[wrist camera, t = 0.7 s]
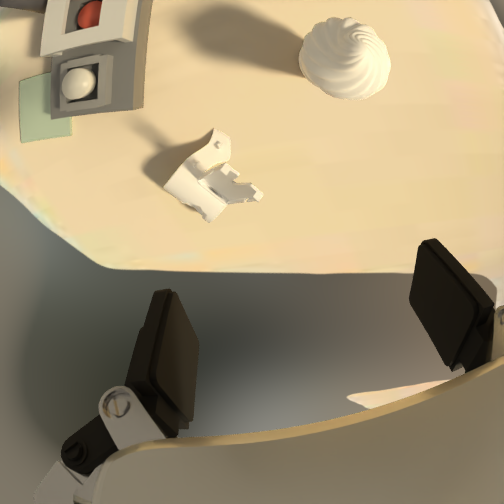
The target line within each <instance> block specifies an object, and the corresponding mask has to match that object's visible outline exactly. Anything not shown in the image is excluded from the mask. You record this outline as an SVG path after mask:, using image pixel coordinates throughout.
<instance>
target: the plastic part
mask: <svg viewBox="0 0 504 504" xmlns="http://www.w3.org/2000/svg"><path fill="white" fill-rule="evenodd" d="M230 156H231V148H230V137H229V136H227V135H226V134H225V133H223V132H221V131H219V130H217V129H215V128H214V130H213V134H212V137H211V139H210V141H209V143H208V144H207V145H206V146H204V147H203V148H201V149H200V150H198V151H197V152H195V153H194V154H192V155H191V156H189V157H188V158H187V159H186V160H185V161H184V162H183V163H182V164H181V165H180V166H179V167H178V168H177V170H176V171H175V172H174V173H173V174H172V176H171V177H170V178H169V180H168V181H167V182H166V184H165V185H164V186H163V188H164V189H165V190H166V191H168V192H169V193H170V194H171V195H173V196H174V197H175V198H177V199H178V200H179V201H181V202H182V203H187V204H188V205H189V206H191V207H194V208H195V209H196V210H197V212H199V213H200V214H201V215H202V218H203V219H204V220H205V221H207V222H208V223H210V222H212V221H213V220H214V219H215V218H216V217H217V216H218V215H219V214H220V213H221V212H222V211H223V210H224V208H225V207H226V206H227V204H234V203H243V202H245V201H246V199H248V198H249V199H248V200H247V202H251V201H257V202H259V201H260V199H261V198H262V196H263V195H264V194H263V193H262V192H261V191H260V190H259V189H257V188H256V187H255V186H254V185H253V184H252V183H236V182H234V181H233V180H234V179H236V178H237V177H238V176H239V174H240V173H239V172H237V171H236V170H234V169H233V168H232V167H230V166H229V165H228V164H227V163H224V164H221V165H219V166H217V167H215V168H213V169H210V170H208V169H209V168H210V167H212V166H214V165H215V164H218V163H221V162H226V161H228V160H229V159H230ZM206 170H208V171H206ZM205 171H206V172H205Z"/></svg>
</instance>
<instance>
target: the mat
mask: <svg viewBox="0 0 504 504" xmlns="http://www.w3.org/2000/svg"><path fill="white" fill-rule="evenodd" d="M50 88H51V72H49V73H45V74H41V75H38V76H35V77H31V78H28V79H25V80H22V81H20V84H19V110H20V132H21V143H26V142H31V141H37V140H44V139H50V138H57V137H65V136H71V135H72V117H65V118H59V119H53V120H51V110H50Z"/></svg>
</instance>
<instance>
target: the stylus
mask: <svg viewBox="0 0 504 504" xmlns="http://www.w3.org/2000/svg"><path fill="white" fill-rule="evenodd" d="M47 2H48V0H0V6H1V7H9V8H16V9H22V10H27V11H33V12H38V13H43V14H45V13H46V7H47Z"/></svg>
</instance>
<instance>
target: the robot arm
mask: <svg viewBox="0 0 504 504" xmlns="http://www.w3.org/2000/svg"><path fill="white" fill-rule="evenodd" d="M409 301H410V305H411V306H412V308H413V310H414V311H415V313H416V315H417V316H418V318H419V320H420V321H421V323H422V325H423V326H424V328H425V330H426V331H427V333H428V334H429V337H430V338H431V340H432V342H433V344H434V345H435V347H436V349H437V351H438V353H439V355H440V356H441V358H442V360H443V362H444V364H445V365H446V366H449V367H450V369H451V371H452V372H453V371H455V370H457V369H459V368H462V367H464V368H465V374H463V375H461V376H459V377H456V378H454V379H452V380H450V381H447V382H445V383H443V384H440V385H438V386H435V387H433V388H430V389H428V390H425V391H423V392H420V393H418V394H415V395H412V396H409V397H407V398H404V399H401V400H398V401H395V402H392V403H389V404H386V405H383V406H379V407H376V408H373V409H369V410H366V411H362V412H359V413H355V414H351V415H347V416H344V417H339V418H335V419H330V420H326V421H321V422H317V423H312V424H307V425H301V426H296V427H290V428H284V429H277V430H270V431H262V432H253V433H244V434H233V435H221V436H205V437H186V438H178V437H177V435H178V431H179V429H188V428H189V422H191V421H193V416H194V402H195V389H196V376H197V365H198V355H199V341H198V338H197V336H196V334H195V332H194V330H193V327H192V325H191V323H190V321H189V319H188V317H187V315H186V313H185V310H184V308H183V306H182V304H181V301H180V300H179V297H178V295H177V293H176V292H172V291H171V289H163V290H157V291H155V292H154V294H153V297H152V301H151V303H150V307H149V310H148V313H147V316H146V320H145V323H144V327H142V328H141V329H140V331H139V334H138V338H137V341H136V344H135V348H134V351H133V355H132V359H131V362H130V366H129V370H128V374H127V377H126V381H125V386H117V387H113V388H112V389H109V390H108V391H107V392H106V393H105V394H104V395H103V396H102V398H101V400H100V403H99V413H100V414H99V415H98V416H97V417H95V418H94V419H93V420H92V421H90V422H89V423H88V424H86V425H85V426H84V427H82V428H81V429H80V430H78V431H77V432H76V433H74V434H73V435H72V436H70V437H69V438H68V439H67V440H66V441H65V442H64V444H63V446H62V450H61V458H62V460H61V462H59V461H57V462H56V463H55V464H54V466H53V467H52V468H51V470H50V471H49V472H48V474H47V475H46V477H45V478H44V479H43V480H42V482H41V483H40V485H39V486H38V487H37V489H36V491H35V493H34V502H35V504H504V305H503V306H500V307H498V308H497V309H496V311H495V310H494V308H493V306H494V302H493V301H492V300H491V299H490V298H489V296H488V295H487V294H486V293H485V291H484V290H483V289H482V288H481V287H480V285H479V284H478V283H477V282H476V281H475V279H474V278H473V277H472V276H471V275H470V274H469V273H468V272H467V270H466V269H465V268H464V267H463V266H462V265H461V264H460V263H459V262H458V261H457V259H456V258H455V257H454V256H453V255H452V254H451V253H450V252H449V251H448V250H447V249H446V248H445V247H444V246H443V245H442V244H441V243H440V242H439V241H438V240H437V239H435V238H433V239H429V240H424V241H422V243H421V245H420V246H419V247H418V251H417V258H416V264H415V270H414V276H413V281H412V286H411V291H410V296H409Z"/></svg>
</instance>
